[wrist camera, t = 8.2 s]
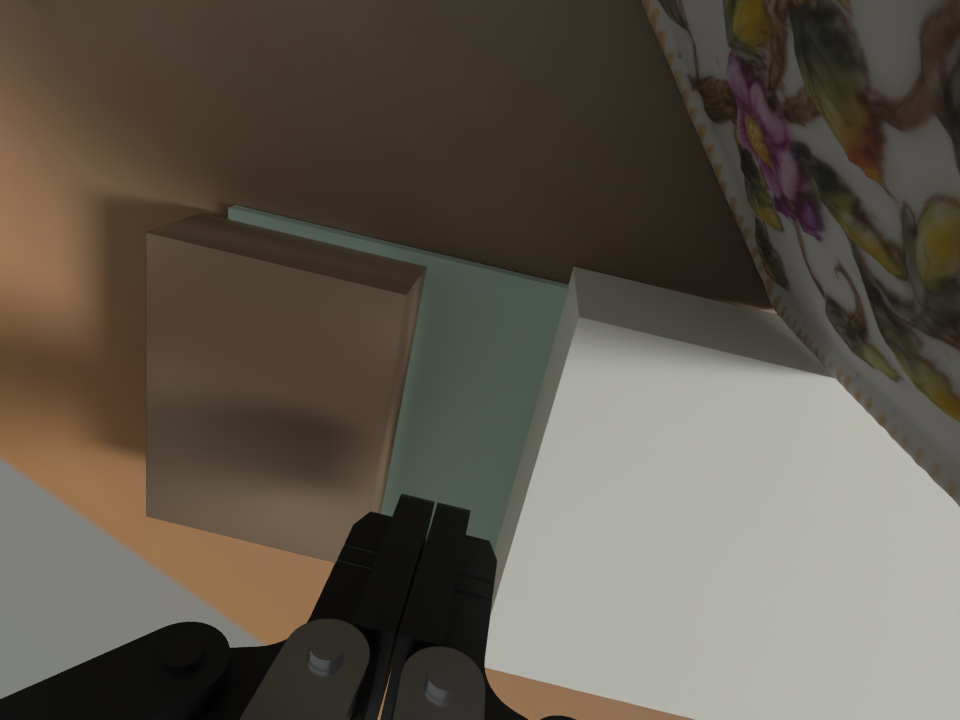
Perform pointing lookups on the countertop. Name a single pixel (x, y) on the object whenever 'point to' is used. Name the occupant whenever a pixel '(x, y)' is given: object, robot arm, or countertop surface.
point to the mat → (459, 374)
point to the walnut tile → (272, 381)
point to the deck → (720, 526)
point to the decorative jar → (843, 186)
